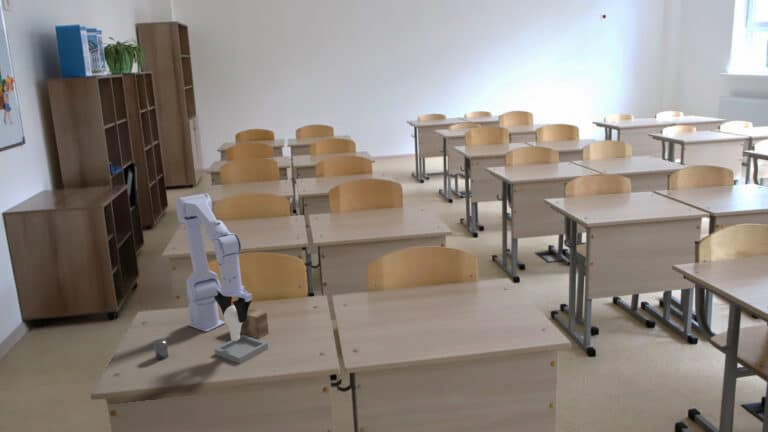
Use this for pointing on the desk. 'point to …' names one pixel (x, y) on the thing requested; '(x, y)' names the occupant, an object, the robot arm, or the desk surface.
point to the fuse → (161, 349)
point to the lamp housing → (255, 323)
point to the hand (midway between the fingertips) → (235, 319)
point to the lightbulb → (233, 322)
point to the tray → (241, 349)
